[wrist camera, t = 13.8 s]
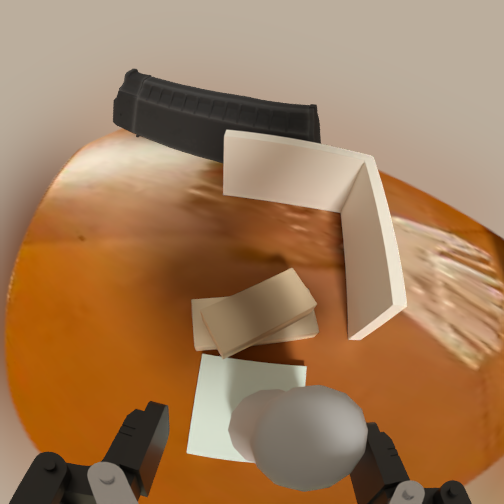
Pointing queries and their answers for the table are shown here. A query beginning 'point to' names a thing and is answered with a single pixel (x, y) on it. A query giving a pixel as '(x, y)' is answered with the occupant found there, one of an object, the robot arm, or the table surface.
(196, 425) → the tile
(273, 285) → the offcut short
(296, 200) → the bracket
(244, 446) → the salt shaker
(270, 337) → the block
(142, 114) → the magazine
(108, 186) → the table surface
